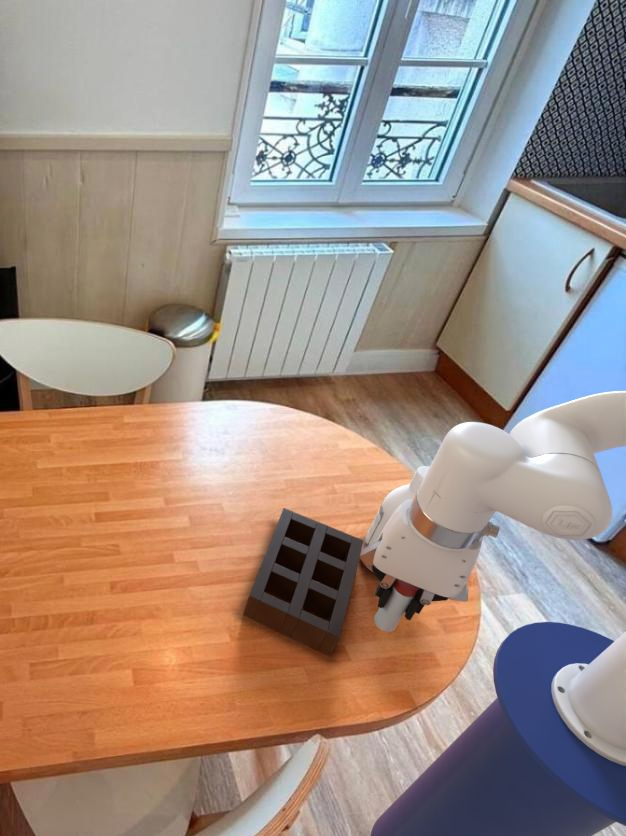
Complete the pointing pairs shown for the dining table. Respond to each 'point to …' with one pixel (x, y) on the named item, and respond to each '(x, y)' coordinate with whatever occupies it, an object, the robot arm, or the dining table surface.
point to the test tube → (395, 605)
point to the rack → (305, 581)
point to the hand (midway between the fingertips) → (395, 604)
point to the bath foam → (393, 506)
